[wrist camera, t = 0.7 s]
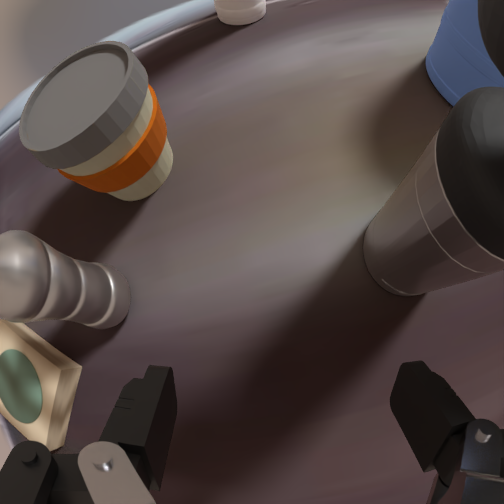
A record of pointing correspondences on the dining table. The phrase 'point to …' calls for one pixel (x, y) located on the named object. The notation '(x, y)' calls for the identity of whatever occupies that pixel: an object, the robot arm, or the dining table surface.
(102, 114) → the reusable coffee cup
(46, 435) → the base block
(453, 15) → the water jug
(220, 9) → the bottle
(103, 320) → the plastic bottle
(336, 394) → the dining table surface
